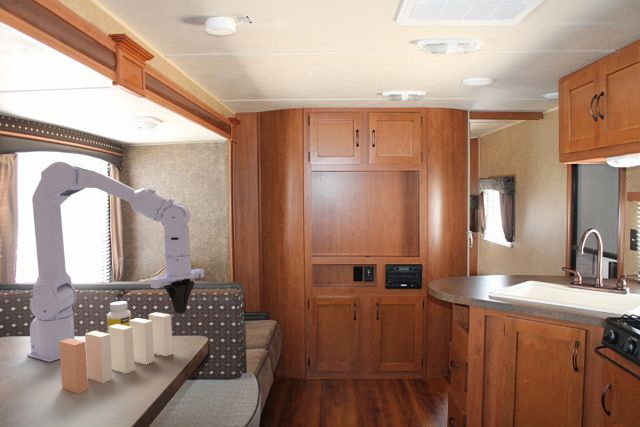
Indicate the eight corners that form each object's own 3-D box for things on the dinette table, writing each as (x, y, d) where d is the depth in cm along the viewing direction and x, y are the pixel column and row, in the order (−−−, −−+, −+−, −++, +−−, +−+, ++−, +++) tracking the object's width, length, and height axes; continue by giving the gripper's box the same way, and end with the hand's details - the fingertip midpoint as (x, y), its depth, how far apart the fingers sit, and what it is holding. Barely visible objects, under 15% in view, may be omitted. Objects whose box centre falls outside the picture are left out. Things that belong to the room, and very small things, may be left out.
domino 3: (146, 364, 95) (144, 323, 94) (131, 361, 97) (129, 320, 97) (154, 361, 96) (152, 320, 96) (139, 357, 99) (137, 317, 99)
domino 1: (103, 383, 86) (100, 337, 86) (87, 378, 89) (85, 333, 88) (112, 379, 88) (110, 334, 87) (97, 374, 90) (94, 330, 90)
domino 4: (165, 357, 99) (163, 317, 99) (150, 353, 102) (148, 314, 101) (172, 354, 101) (170, 314, 100) (157, 350, 103) (155, 312, 103)
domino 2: (125, 373, 90) (123, 329, 90) (110, 369, 93) (108, 326, 93) (134, 370, 92) (132, 327, 92) (119, 365, 95) (116, 323, 94)
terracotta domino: (77, 393, 82) (74, 345, 81) (62, 388, 84) (59, 341, 84) (88, 389, 83) (85, 341, 83) (72, 384, 86) (70, 338, 86)
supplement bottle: (123, 346, 107) (121, 305, 106) (103, 345, 108) (101, 305, 108) (136, 338, 112) (134, 300, 112) (117, 338, 113) (115, 299, 113)
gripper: (164, 260, 97) (167, 322, 98) (212, 252, 110) (214, 306, 110) (143, 259, 101) (146, 318, 101) (191, 250, 113) (194, 304, 114)
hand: (180, 312), depth 106 cm, fingers closed
